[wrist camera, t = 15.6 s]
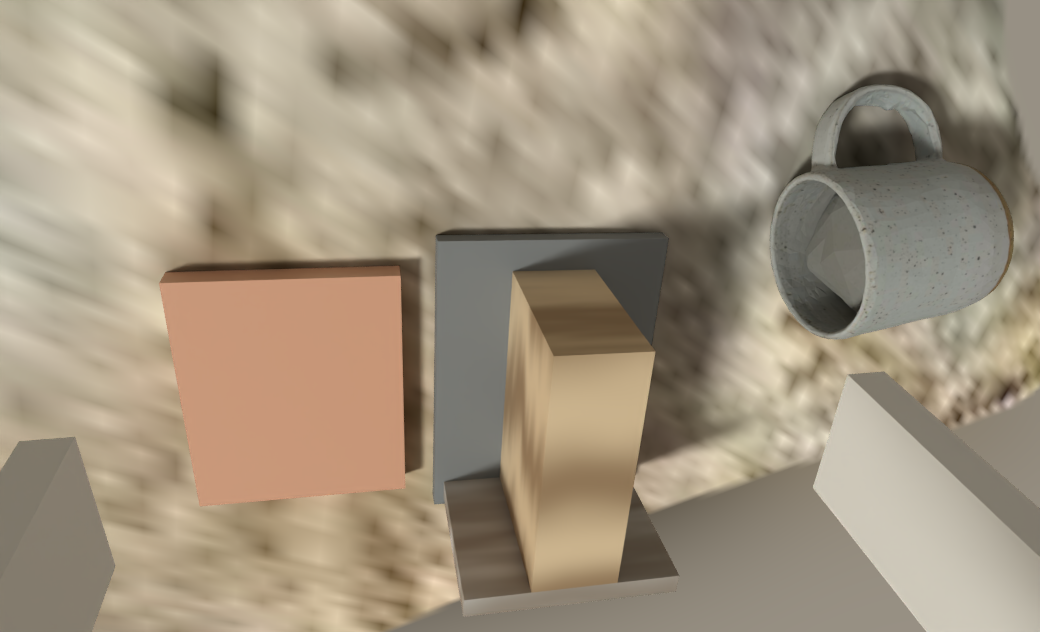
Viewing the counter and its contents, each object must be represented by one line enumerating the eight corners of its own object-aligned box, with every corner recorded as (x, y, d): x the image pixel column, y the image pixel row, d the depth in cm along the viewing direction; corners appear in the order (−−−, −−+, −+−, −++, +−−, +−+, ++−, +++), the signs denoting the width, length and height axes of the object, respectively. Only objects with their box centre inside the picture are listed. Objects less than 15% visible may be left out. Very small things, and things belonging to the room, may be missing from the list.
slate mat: (435, 235, 33) (437, 241, 33) (662, 232, 36) (668, 238, 35) (432, 494, 40) (434, 504, 39) (624, 478, 42) (628, 487, 42)
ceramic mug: (903, 273, 40) (1016, 338, 33) (762, 298, 39) (849, 370, 32) (936, 70, 35) (1075, 96, 28) (776, 92, 34) (882, 125, 27)
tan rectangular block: (448, 272, 34) (473, 360, 27) (654, 268, 36) (728, 348, 29) (443, 496, 39) (463, 616, 32) (621, 481, 41) (675, 591, 34)
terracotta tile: (159, 283, 31) (199, 506, 36) (400, 275, 33) (405, 488, 38) (167, 267, 32) (205, 484, 38) (398, 261, 34) (403, 468, 40)
